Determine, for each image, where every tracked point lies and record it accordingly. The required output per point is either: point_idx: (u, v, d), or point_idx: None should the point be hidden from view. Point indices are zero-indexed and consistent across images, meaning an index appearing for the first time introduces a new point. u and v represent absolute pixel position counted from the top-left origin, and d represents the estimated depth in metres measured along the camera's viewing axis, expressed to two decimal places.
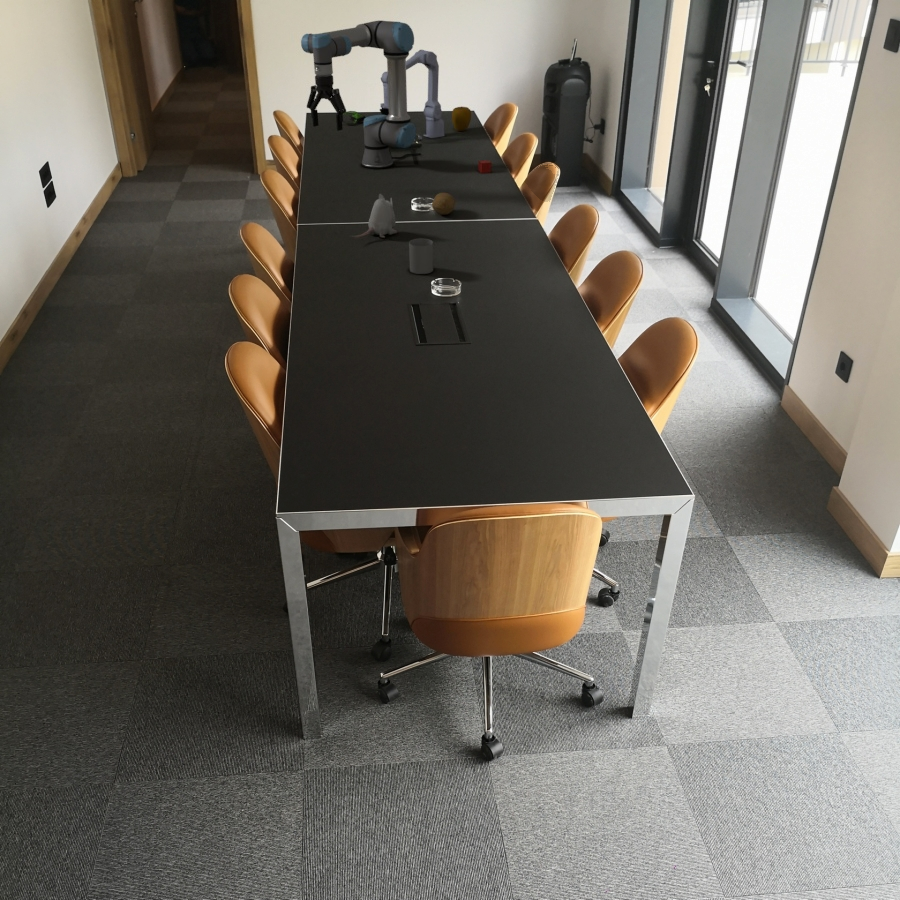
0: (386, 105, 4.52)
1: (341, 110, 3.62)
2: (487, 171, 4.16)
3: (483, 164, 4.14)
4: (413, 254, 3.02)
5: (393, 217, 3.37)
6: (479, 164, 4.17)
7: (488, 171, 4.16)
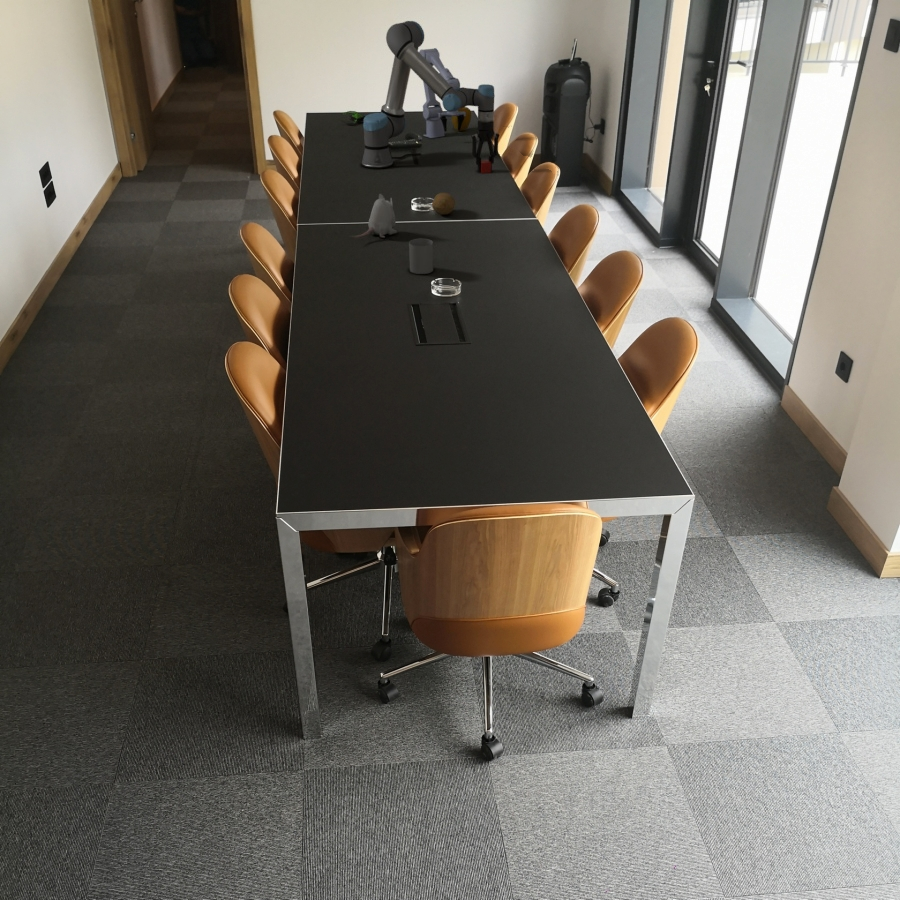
0: (455, 112, 4.55)
1: (497, 153, 4.14)
2: (487, 171, 4.16)
3: (483, 164, 4.14)
4: (413, 254, 3.02)
5: (393, 217, 3.37)
6: None
7: (488, 171, 4.16)
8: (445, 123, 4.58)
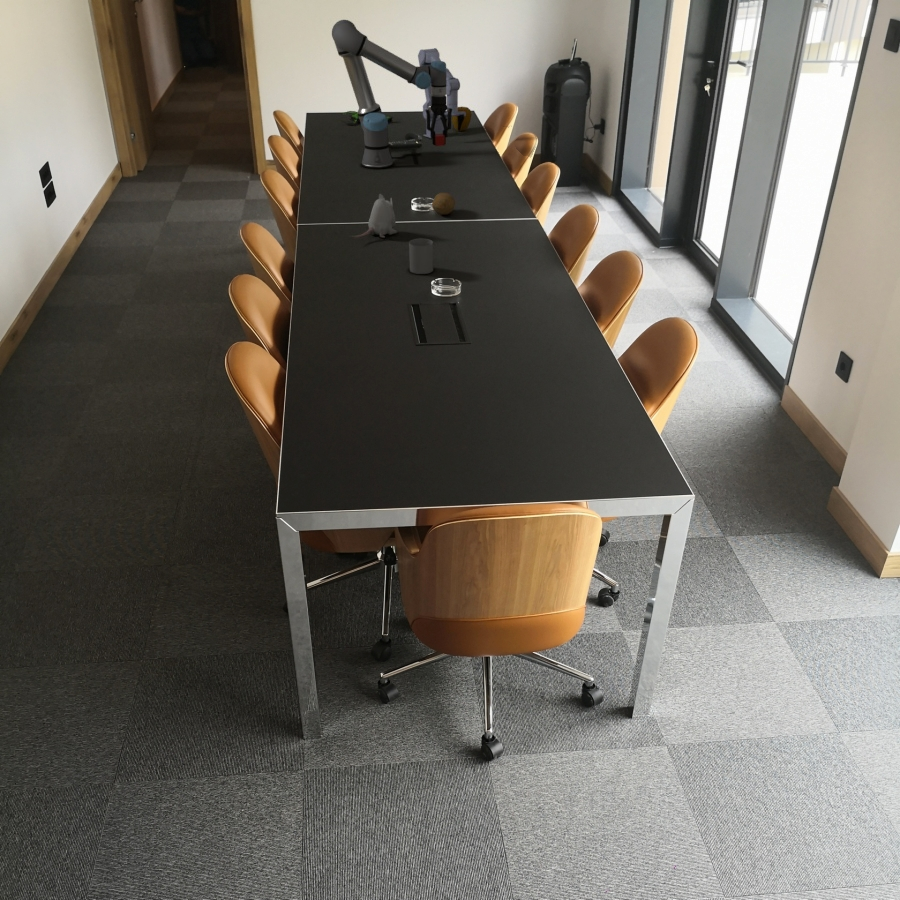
0: (455, 112, 4.55)
1: (450, 126, 4.36)
2: (441, 144, 4.39)
3: (437, 137, 4.36)
4: (413, 254, 3.02)
5: (393, 217, 3.37)
6: None
7: (442, 144, 4.39)
8: None
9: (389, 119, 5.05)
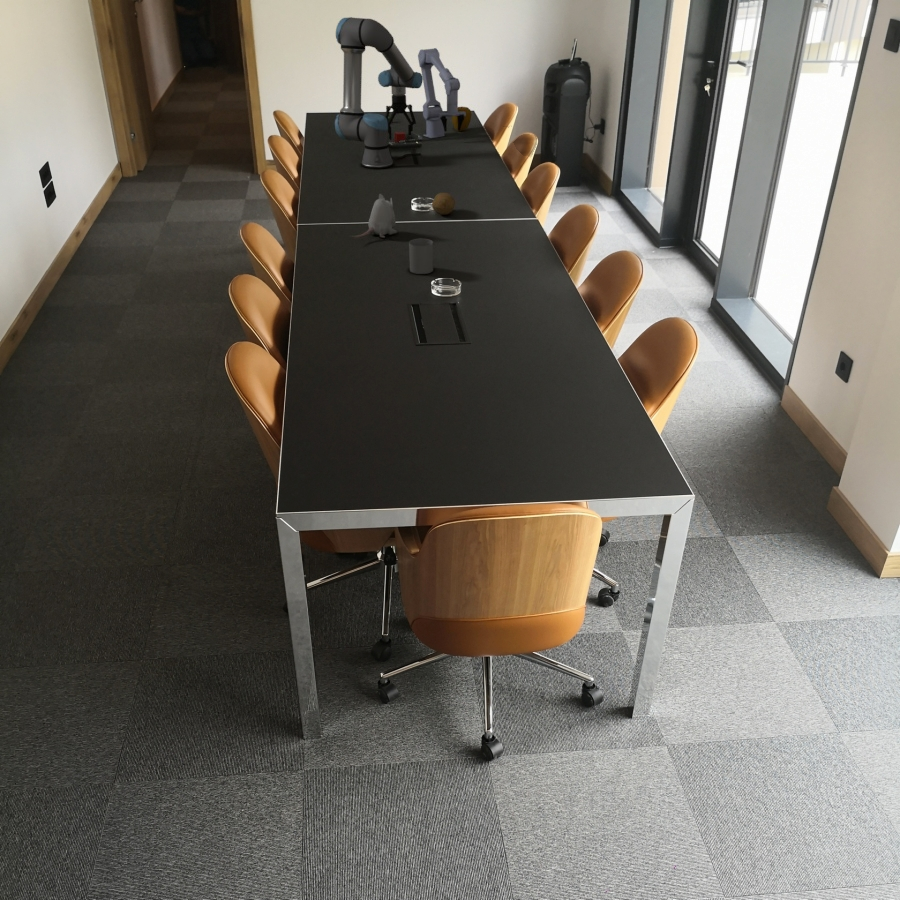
0: (455, 112, 4.55)
1: (415, 121, 4.64)
2: None
3: (398, 135, 4.64)
4: (413, 254, 3.02)
5: (393, 217, 3.37)
6: (395, 135, 4.67)
7: None
8: (445, 123, 4.58)
9: None
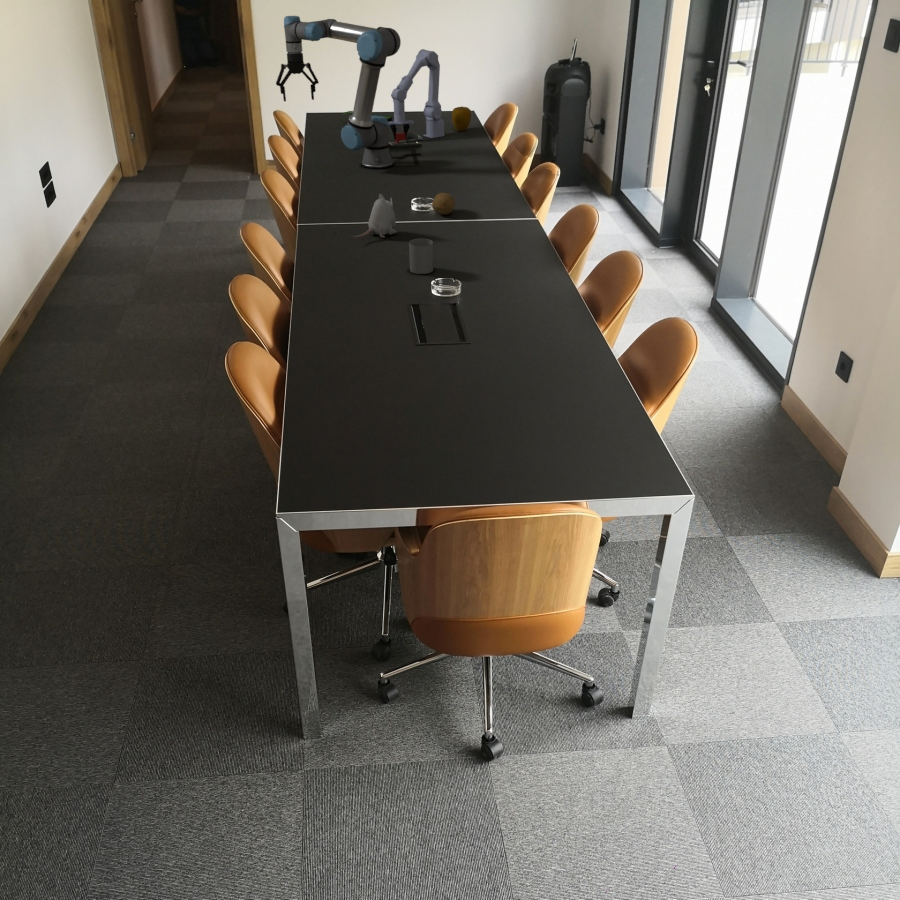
0: (402, 121, 4.60)
1: (317, 80, 4.17)
2: None
3: (398, 135, 4.64)
4: (413, 254, 3.02)
5: (393, 217, 3.37)
6: None
7: None
8: (395, 132, 4.63)
9: (389, 119, 5.05)
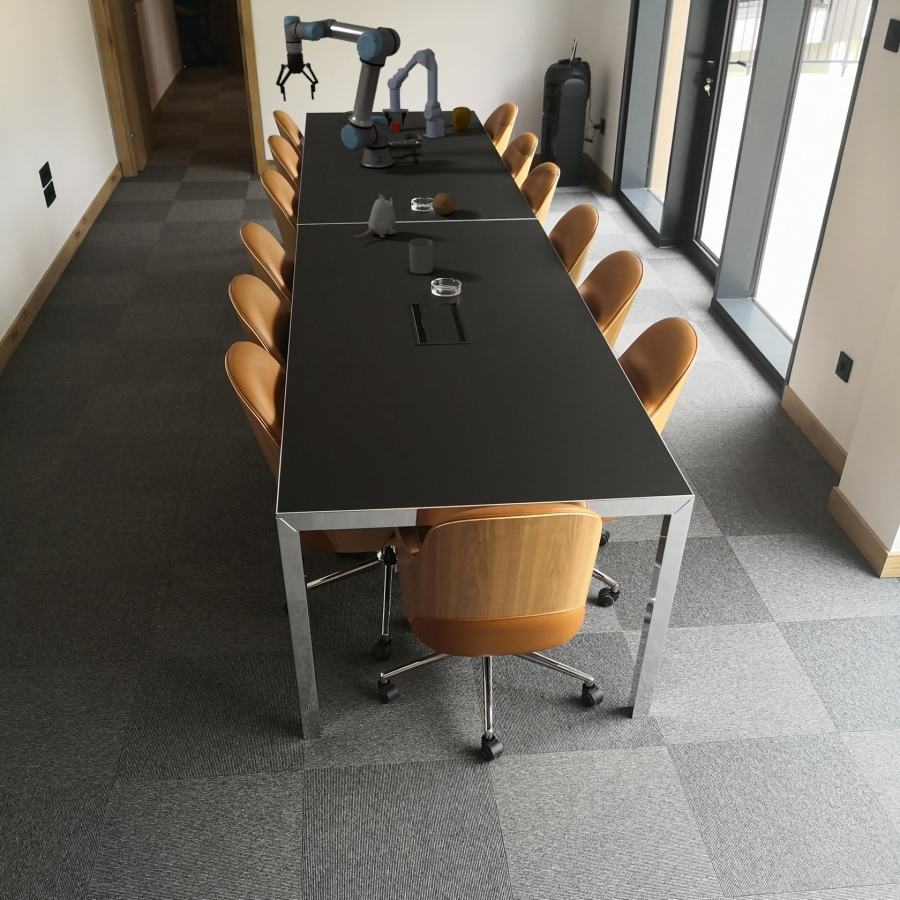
0: (396, 109, 4.81)
1: (317, 80, 4.17)
2: (396, 130, 4.88)
3: (392, 124, 4.86)
4: (413, 254, 3.02)
5: (393, 217, 3.37)
6: None
7: (397, 130, 4.88)
8: (387, 119, 4.85)
9: (389, 119, 5.05)
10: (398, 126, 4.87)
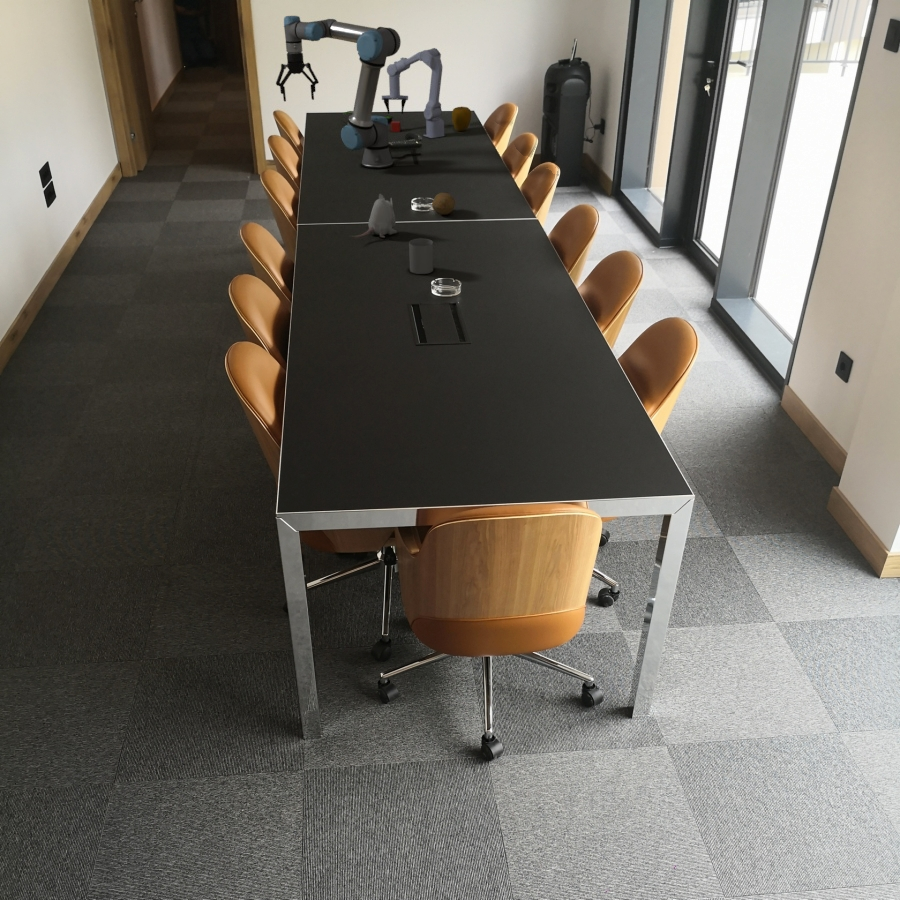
0: (396, 95, 4.78)
1: (317, 80, 4.17)
2: (396, 130, 4.88)
3: (392, 124, 4.86)
4: (413, 254, 3.02)
5: (393, 217, 3.37)
6: None
7: (397, 130, 4.88)
8: (387, 105, 4.81)
9: (389, 119, 5.05)
10: (398, 126, 4.87)
